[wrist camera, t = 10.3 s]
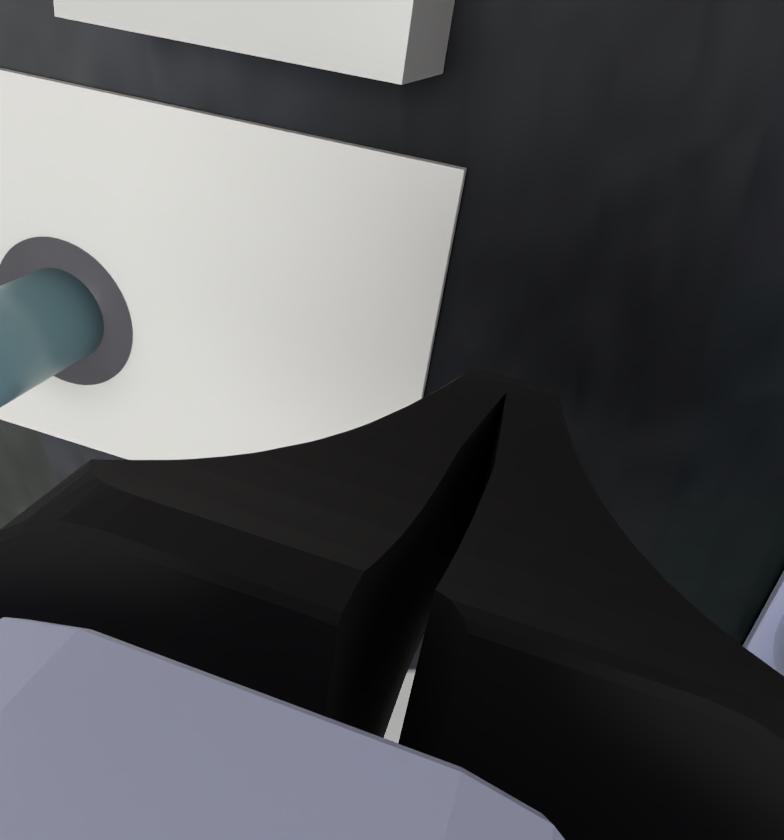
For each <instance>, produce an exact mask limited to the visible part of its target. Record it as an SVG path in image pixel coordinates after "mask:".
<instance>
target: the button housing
mask: <svg viewBox="0 0 784 840" xmlns="http://www.w3.org/2000/svg"><path fill="white" fill-rule="evenodd" d="M454 3H455V0H54V13H55V17H60V18H65V19H70V20H76V21H81V22H86V23H91V24H96V25H101V26H106V27H111V28H116V29H121V30H126V31H131V32H136V33H141V34H147V35H152V36H157V37H162V38H167V39H172V40H177V41H182V42H187V43H192V44H197V45H202V46H207V47H212V48H218V49H223V50H228V51H233V52H238V53H243V54H248V55H253V56H258V57H263V58H268V59H273V60H278V61H283V62H288V63H294V64H299V65H304V66H309V67H314V68H319V69H324V70H329V71H334V72H339V73H344V74H349V75H354V76H359V77H365V78H370V79H375V80H380V81H385V82H390V83H395V84H400V85H403V84H407V83H410V82H414V81H418V80H421V79H425V78H429V77H433V76H436V75H440V74H443V70H444V63H445V57H446V51H447V45H448V39H449V33H450V27H451V21H452V15H453V9H454Z"/></svg>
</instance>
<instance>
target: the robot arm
mask: <svg viewBox="0 0 784 840" xmlns="http://www.w3.org/2000/svg"><path fill="white" fill-rule="evenodd" d="M424 633H425V634H424ZM423 635H424V639H423V643H422V647H421V651H420V655H419V659H418V664H417V668H416V672H415V676H414V680H413V685H412V689H411V693H410V697H409V701H408V706H407V710H406V714H405V718H404V723H403V727H402V731H401V735H400V739H399V743H395V742H392V741H390V740H387V739H384V738H383V737H384V734H385V732H386V729H387V726H388V723H389V720H390V718H391V714H392V712H393V709H394V706H395V704H396V701H397V698H398V695H399V692H400V689H401V687H402V684H403V681H404V678H405V676H406V673H407V671H408V669H409V666H410V664H411V661H412V659H413V657H414V654H415V652H416V650H417V648H418V646H419V644H420V641H421V639H422V637H423ZM0 840H784V571H783V573H782V575H781V577H780V578H779V580H778V582H777V584H776V586H775V588H774V589H773V591H772V593H771V595H770V597H769V599H768V600H767V602H766V604H765V606H764V608H763V610H762V611H761V613H760V615H759V617H758V619H757V620H756V622H755V624H754V626H753V628H752V630H751V631H750V633H749V635H748V637H747V639H746V641H745V642H744V644H743V646H742V645H740V644H739V643H738V642H736V641H735V640H733V639H732V638H731V637H729V636H728V635H727V634H726V633H724V632H723V631H722V630H721V629H719V628H718V627H717V626H716V625H715V624H714V623H713V622H711V621H710V620H709V619H708V618H707V617H706V616H704V615H703V614H702V613H701V612H700V611H699V610H698V609H696V608H695V607H694V606H693V605H692V604H691V603H689V602H688V601H687V600H686V599H685V598H684V597H683V596H682V595H681V594H680V593H679V592H678V591H677V590H676V589H675V588H673V587H672V586H671V585H670V584H669V583H668V582H667V581H666V580H665V579H664V578H663V577H662V576H661V575H660V573H659V572H658V571H657V570H656V569H655V568H654V567H653V566H652V565H651V564H650V563H649V562H648V560H647V559H646V558H645V557H644V556H643V555H642V554H641V553H640V552H639V551H638V550H637V548H636V547H635V546H634V545H633V544H632V542H631V541H630V540H629V539H628V538H627V536H626V535H625V534H624V533H623V531H622V530H621V528H620V527H619V526H618V524H617V523H616V522H615V520H614V519H613V517H612V516H611V515H610V513H609V512H608V511H607V509H606V508H605V506H604V505H603V503H602V502H601V500H600V498H599V496H598V495H597V493H596V491H595V489H594V487H593V486H592V484H591V482H590V480H589V478H588V476H587V474H586V472H585V470H584V468H583V466H582V464H581V461H580V459H579V457H578V454H577V452H576V450H575V448H574V445H573V443H572V440H571V438H570V435H569V432H568V429H567V426H566V423H565V420H564V417H563V413H562V409H561V404H560V399H559V397H558V395H557V393H556V391H555V390H552V389H548V388H544V387H541V386H537V385H533V384H530V383H526V382H522V381H518V380H515V379H511V378H507V377H504V376H500V375H496V374H492V373H489V372H485V371H481V370H478V369H473V370H471V371H469V372H467V373H465V374H463V375H462V376H460V377H458V378H456V379H455V380H453V381H451V382H450V383H448V384H446V385H445V386H443V387H441V388H440V389H438V390H436V391H434V392H433V393H431V394H429V395H427V396H425V397H424V398H422V399H420V400H418V401H416V402H414V403H412V404H411V405H409V406H407V407H405V408H402V409H400V410H398V411H396V412H393V413H391V414H389V415H387V416H385V417H382V418H380V419H378V420H376V421H373V422H371V423H368V424H366V425H363V426H361V427H358V428H355V429H352V430H349V431H346V432H343V433H339V434H336V435H333V436H329V437H326V438H323V439H319V440H315V441H311V442H307V443H302V444H297V445H292V446H287V447H282V448H277V449H272V450H267V451H262V452H255V453H248V454H240V455H232V456H223V457H211V458H198V459H181V460H93V459H92V460H90V461H89V462H87V463H86V464H85V465H83V466H82V467H80V468H79V469H78V470H76V471H75V472H74V473H73V474H71V475H70V476H69V477H67V478H66V479H65V480H63V481H62V482H61V483H60V484H58V485H57V486H56V487H54V488H53V489H52V490H51V491H49V492H48V493H47V494H45V495H44V496H43V497H42V498H40V499H39V500H38V501H36V502H35V503H34V504H33V505H31V506H30V507H29V508H27V509H26V510H25V511H24V512H22V513H21V514H20V515H18V516H17V517H16V518H15V519H13V520H12V521H11V522H9V523H8V524H7V525H6V526H4V527H3V528H2V529H0Z"/></svg>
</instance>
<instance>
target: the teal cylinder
mask: <svg viewBox="0 0 784 840" xmlns="http://www.w3.org/2000/svg"><path fill="white" fill-rule="evenodd" d="M103 332H104V323H103V317H102V313H101V310H100V307H99V305H98V303H97V301H96V299H95V298H94V296H93V295H92V293H91V292H90V290H89V289H88V288H87V287H86V286H85V285H84V284H83V283H82V282H81V281H80V280H79V279H77V278H76V277H75V276H73V275H71V274H70V273H68V272H66V271H63V270H60V269H56V268H43V269H40V270H37V271H35V272H32V273H30V274H28V275H25V276H23V277H20V278H18V279H15V280H13V281H11V282H8V283H6V284H3V285H1V286H0V407H2V406H4V405H5V404H7V403H9V402H10V401H12V400H14V399H15V398H17V397H19V396H20V395H22V394H24V393H25V392H27V391H29V390H30V389H32V388H34V387H35V386H37V385H39V384H40V383H42V382H44V381H45V380H47V379H49V378H50V377H52V376H54V375H55V374H57V373H59V372H60V371H62V370H64V369H65V368H67V367H69V366H70V365H72V364H74V363H75V362H77V361H79V360H80V359H82V358H84V357H85V356H87V355H89V354H90V353H92V352H94V351H95V350H96V349H97V347H98V346H99V345H100V343H101V341H102V337H103Z"/></svg>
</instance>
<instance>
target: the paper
mask: <svg viewBox="0 0 784 840" xmlns="http://www.w3.org/2000/svg"><path fill="white" fill-rule="evenodd" d="M466 170H467V168H465V167H460V166H455V165H451V164H446V163H441V162H437V161H432V160H428V159H423V158H418V157H414V156H409V155H404V154H400V153H395V152H390V151H386V150H381V149H376V148H372V147H367V146H362V145H358V144H353V143H348V142H344V141H339V140H334V139H330V138H325V137H321V136H316V135H311V134H307V133H302V132H297V131H293V130H288V129H283V128H279V127H274V126H269V125H265V124H260V123H255V122H251V121H246V120H241V119H237V118H232V117H228V116H223V115H218V114H214V113H209V112H204V111H200V110H195V109H190V108H186V107H181V106H176V105H172V104H167V103H162V102H158V101H153V100H148V99H144V98H139V97H134V96H130V95H125V94H121V93H116V92H111V91H107V90H102V89H97V88H93V87H88V86H83V85H79V84H74V83H69V82H65V81H60V80H55V79H51V78H46V77H41V76H37V75H32V74H28V73H23V72H18V71H14V70H9V69H4V68H0V286H1V285H3V284H6V283H8V282H11V281H13V280H15V279H18V278H20V277H23V276H25V275H28V274H30V273H32V272H35V271H37V270H40V269H43V268H56V269H60V270H63V271H66V272H68V273H70V274H71V275H73V276H75V277H76V278H77V279H79V280H80V281H81V282H82V283H83V284H84V285H85V286H86V287H87V288H88V289H89V290H90V292H91V293H92V295H93V296H94V298H95V299H96V301H97V303H98V305H99V307H100V310H101V313H102V317H103V323H104V332H103V337H102V341H101V343H100V345H99V346H98V347H97V349H96V350H95V351H94V352H92V353H90V354H89V355H87V356H85V357H84V358H82V359H80V360H79V361H77V362H75V363H74V364H72V365H70V366H69V367H67V368H65V369H64V370H62V371H60V372H59V373H57V374H55V375H54V376H52V377H50V378H49V379H47V380H45V381H44V382H42V383H40V384H39V385H37V386H35V387H34V388H32V389H30V390H29V391H27V392H25V393H24V394H22V395H20V396H19V397H17V398H15V399H14V400H12V401H10V402H9V403H7V404H5V405H4V406H2V407H0V419H1V420H4V421H8V422H11V423H14V424H17V425H20V426H23V427H27V428H30V429H33V430H36V431H39V432H42V433H46V434H49V435H52V436H55V437H58V438H61V439H65V440H68V441H71V442H74V443H77V444H80V445H84V446H87V447H90V448H93V449H96V450H99V451H103V452H106V453H109V454H112V455H115V456H118V457H122V458H125V459H128V460H181V459H198V458H211V457H223V456H232V455H240V454H248V453H255V452H262V451H267V450H272V449H277V448H282V447H287V446H292V445H297V444H302V443H307V442H311V441H315V440H319V439H323V438H326V437H329V436H333V435H336V434H339V433H343V432H346V431H349V430H352V429H355V428H358V427H361V426H363V425H366V424H368V423H371V422H373V421H376V420H378V419H380V418H382V417H385V416H387V415H389V414H391V413H393V412H396V411H398V410H400V409H402V408H405V407H407V406H409V405H411V404H412V403H414V402H416V401H418V400H420V399H422V398H423V396H424V391H425V385H426V380H427V375H428V370H429V364H430V359H431V354H432V349H433V343H434V338H435V333H436V328H437V322H438V317H439V312H440V307H441V301H442V296H443V291H444V286H445V280H446V275H447V270H448V265H449V259H450V254H451V249H452V244H453V238H454V233H455V228H456V223H457V217H458V212H459V207H460V202H461V196H462V191H463V186H464V181H465V175H466Z"/></svg>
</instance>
